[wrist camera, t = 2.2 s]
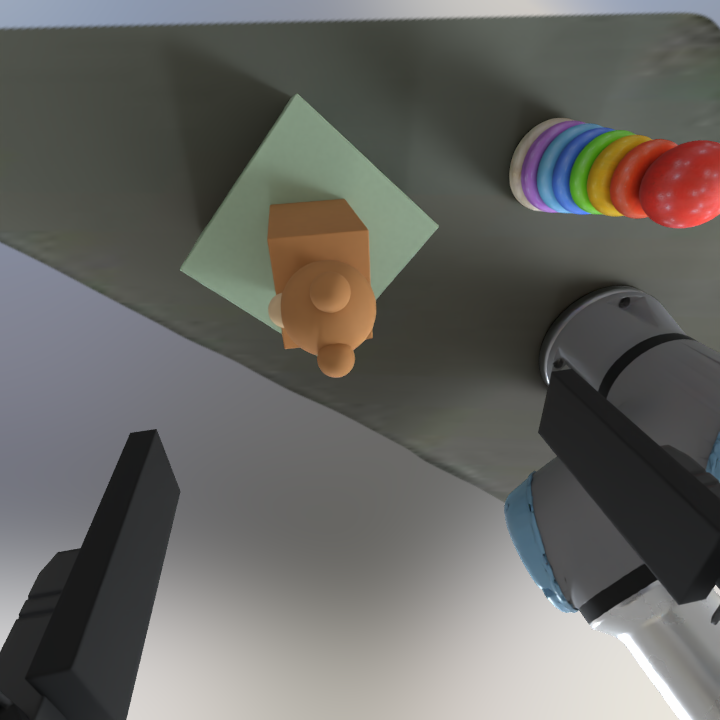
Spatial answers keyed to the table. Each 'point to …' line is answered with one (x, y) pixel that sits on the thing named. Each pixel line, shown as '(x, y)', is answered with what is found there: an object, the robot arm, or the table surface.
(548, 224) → the table surface
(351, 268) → the plush bear
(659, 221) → the stacking toy
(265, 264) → the pale green square stand
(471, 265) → the table surface
